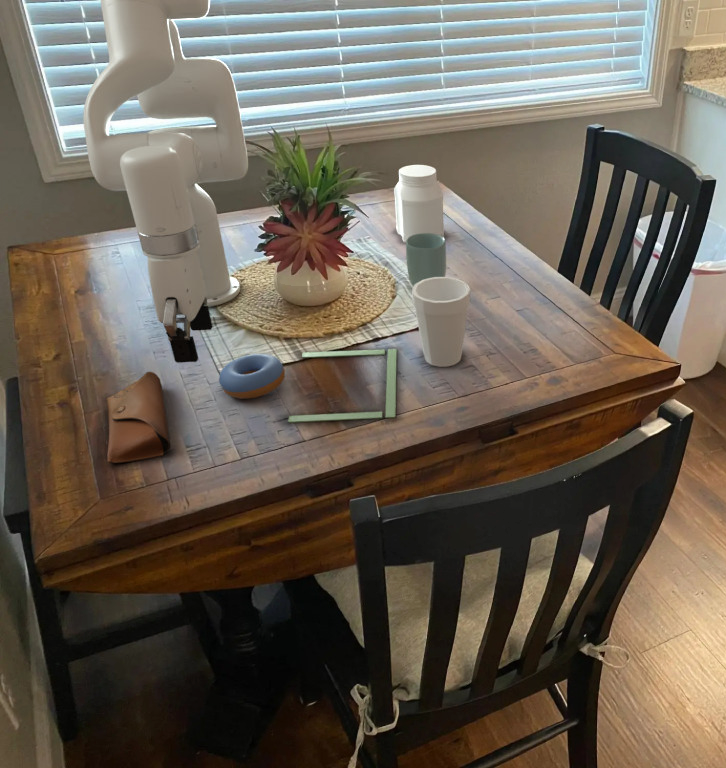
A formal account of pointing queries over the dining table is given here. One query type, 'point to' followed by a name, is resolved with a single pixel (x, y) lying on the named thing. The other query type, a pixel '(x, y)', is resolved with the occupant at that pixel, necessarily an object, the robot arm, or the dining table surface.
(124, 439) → the sunglasses case
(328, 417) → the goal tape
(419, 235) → the cup
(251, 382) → the doughnut
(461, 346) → the foam cup
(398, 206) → the jar
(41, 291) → the dining table surface
